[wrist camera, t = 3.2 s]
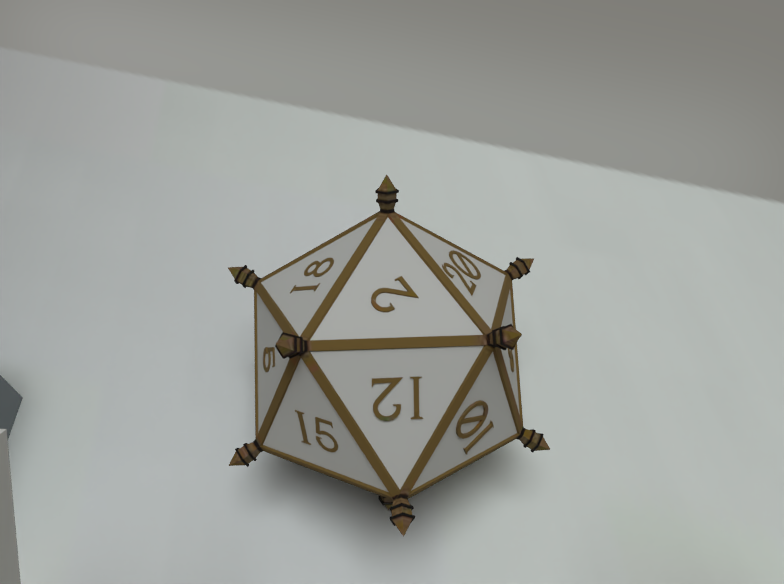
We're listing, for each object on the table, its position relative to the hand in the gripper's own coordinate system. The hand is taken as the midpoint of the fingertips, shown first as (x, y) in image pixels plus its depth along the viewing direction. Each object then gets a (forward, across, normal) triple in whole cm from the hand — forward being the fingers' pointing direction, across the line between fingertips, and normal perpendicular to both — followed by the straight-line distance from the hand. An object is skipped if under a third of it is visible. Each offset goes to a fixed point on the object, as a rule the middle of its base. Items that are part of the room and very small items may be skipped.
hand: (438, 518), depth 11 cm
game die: (+12, -1, -3) cm, 12 cm away
